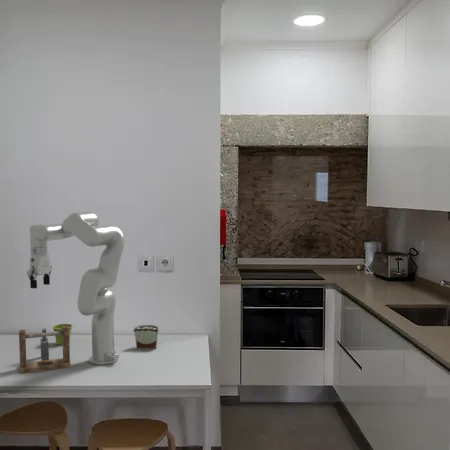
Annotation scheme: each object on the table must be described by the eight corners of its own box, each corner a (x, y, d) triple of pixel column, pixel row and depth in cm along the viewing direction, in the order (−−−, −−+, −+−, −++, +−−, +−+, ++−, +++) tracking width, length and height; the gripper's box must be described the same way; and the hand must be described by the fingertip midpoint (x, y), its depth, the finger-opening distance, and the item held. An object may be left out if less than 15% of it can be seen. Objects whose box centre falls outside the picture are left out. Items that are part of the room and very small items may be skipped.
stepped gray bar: (48, 361, 234) (48, 331, 234) (41, 362, 233) (40, 331, 232) (48, 356, 242) (47, 326, 241) (41, 356, 240) (40, 327, 239)
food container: (161, 345, 258) (161, 324, 257) (159, 349, 251) (158, 328, 251) (137, 344, 259) (136, 324, 258) (133, 348, 253) (133, 327, 252)
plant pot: (67, 346, 255) (66, 329, 255) (49, 345, 257) (48, 328, 257) (76, 341, 265) (76, 324, 264) (59, 340, 267) (58, 323, 266)
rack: (68, 360, 235) (67, 324, 234) (70, 367, 227) (69, 329, 225) (20, 366, 228) (18, 328, 226) (20, 373, 219) (19, 334, 218)
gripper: (34, 253, 243) (35, 290, 244) (56, 248, 259) (58, 283, 261) (20, 252, 245) (21, 289, 246) (43, 248, 262) (44, 282, 263)
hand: (40, 286), depth 253 cm, fingers open, 9 cm apart
